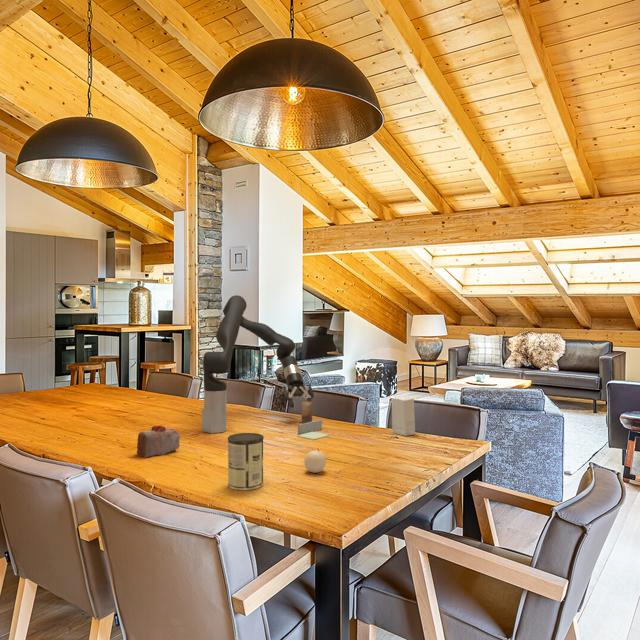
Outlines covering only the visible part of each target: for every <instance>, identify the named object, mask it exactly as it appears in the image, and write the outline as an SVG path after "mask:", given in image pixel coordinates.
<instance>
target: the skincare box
mask: <svg viewBox="0 0 640 640" xmlns="http://www.w3.org/2000/svg"><path fill="white" fill-rule="evenodd" d="M415 418H416V417H415V398H412V397H411V398H410V397H404V396H398V397H392V398H391V423H392V424H391V427H392V428H391V429H392V434H397V435H399V436H400V435H401V436H405V437H407V436H414V435H416V422H415V421H416V419H415Z"/></svg>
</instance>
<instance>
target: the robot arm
mask: <svg viewBox="0 0 640 640" xmlns="http://www.w3.org/2000/svg"><path fill="white" fill-rule="evenodd" d="M247 307H248V306H247V301H246V299H245V298H244V297H243V296H241V295H238V294H236V295H232V296H230V298H229V299H228V301H227V302H226V303H225V306H223V308H222V314H223V318H222V320H221V322H220V323H219V326H218V328H217V330H216V335H215V338H216V341H217V342H218V345H219V346H220V348H222V351H206V352H204V354H203V359H202V361H203V362H202V367H203V368H202V369H203V408H201V431H202V432H204V433H208V434H218V433H223V432H227V388H228V387H227V383H226V382H224V381H222V380H220V379H217V378H216V377H215V376H214V375H215V374H216V375H218V374H219V375H221V374H222V375H223V374H227V373H228V372H229V371H230V368H231V363H232V358H233V353H234V347H235V344H236V341H237V339H238V335H239V331H240V327H241V328H243V329H245V330H246V331H249V332H250V333H252V334H253V335H255V336H256V337H258V338H259V339H260V340H262V341H263V342H264V343H265V344H267V345H268V346H270V347H271V346H273V345H274V344H277V345H278V347H277V348H276V351H275V352H276V357H277V359H278V360H279V362H280V363H281V365H282V369H283V374H284V379H285V382H286V385H283V386H282V388H281V393H282V400H283V401H287V402H288V405H289V407H290V409H293V408H294V406H295V403H294V399H293V398H292V397H301V398H303V399H305V401H311V402H312V403H313V401H312V400H313V399H314V397H315V394H314V390H313V387H312V386H311V385H308V386H307V387H306V386H305V384H304V379H303V376H302V373H301V370H300V367H299V364H298V360H297V358H296V357H295V356H293V355H292V354H293V352H294V351H295V349H296V343H295V342H294V341H293V339H291V338H289V337H287V336H285V335H283V334H280V333H278V332H277V331H275V330H274V329H273V328H271V327H270V326H269V325H267V324H265V323H262V322H257V321H252V320H249V319H247V318H246V317H244V316H243V315H244V313H245V311H246V309H247ZM286 386H287V387H286ZM288 392H289V393H290V394H289V396H288Z"/></svg>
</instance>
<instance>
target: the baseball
mask: <svg viewBox="0 0 640 640" xmlns="http://www.w3.org/2000/svg"><path fill="white" fill-rule="evenodd" d="M303 461H304V462H303V463H304V466H305V469H306V470H307V472H310V473H314V474H315V473H316V474H317V473H321V472H322V471H324V470H325V468H326V465H327V458H326V456H325V454H324V453H323V452H321V451H320V450H311V451H309V452H308V453H307V454H306V455H305V457H304V460H303Z"/></svg>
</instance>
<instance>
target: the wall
mask: <svg viewBox="0 0 640 640" xmlns="http://www.w3.org/2000/svg"><path fill="white" fill-rule="evenodd" d="M320 429H321V430H323V419H317V420H312V422H308V423H303V424H302V423H300V424H297V435H301V434H305V433H309V432H313V431H314V432H318V431H321V430H320ZM317 430H318V431H317Z"/></svg>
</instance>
